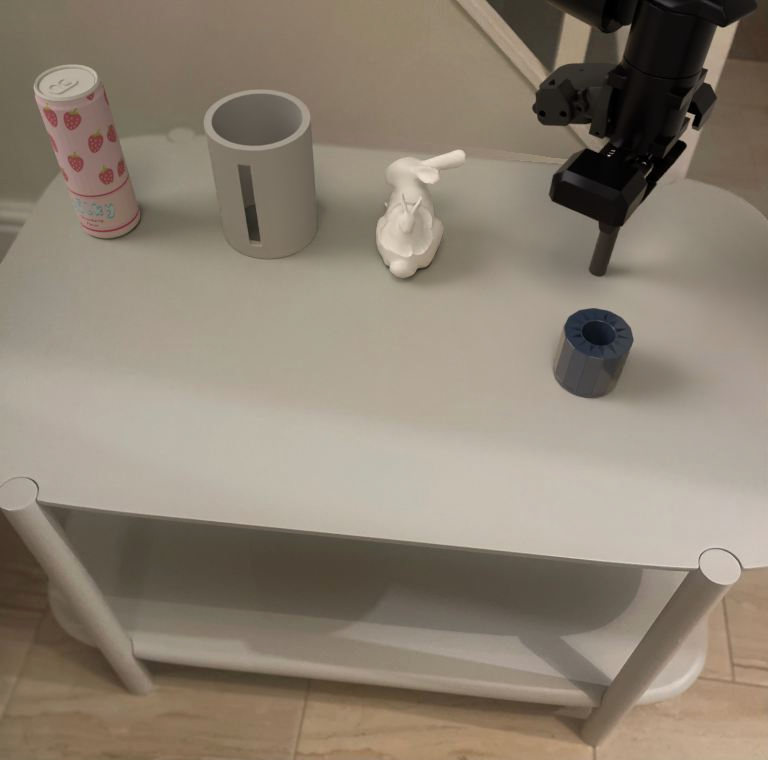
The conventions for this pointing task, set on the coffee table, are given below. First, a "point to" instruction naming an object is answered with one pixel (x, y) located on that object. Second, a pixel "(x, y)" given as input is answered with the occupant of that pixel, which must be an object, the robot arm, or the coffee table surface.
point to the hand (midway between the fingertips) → (611, 224)
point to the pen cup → (592, 352)
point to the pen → (603, 253)
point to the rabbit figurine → (412, 213)
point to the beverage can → (87, 149)
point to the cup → (263, 170)
